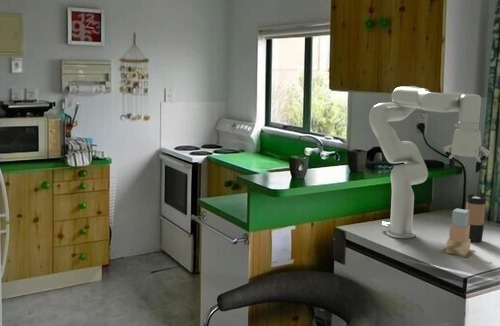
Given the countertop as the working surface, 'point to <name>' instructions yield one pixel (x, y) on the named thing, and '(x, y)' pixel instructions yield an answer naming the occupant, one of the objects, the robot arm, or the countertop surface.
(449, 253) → the walnut board
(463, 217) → the slate block
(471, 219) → the travel mug
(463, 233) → the terracotta block
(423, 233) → the countertop surface
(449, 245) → the beech base block
